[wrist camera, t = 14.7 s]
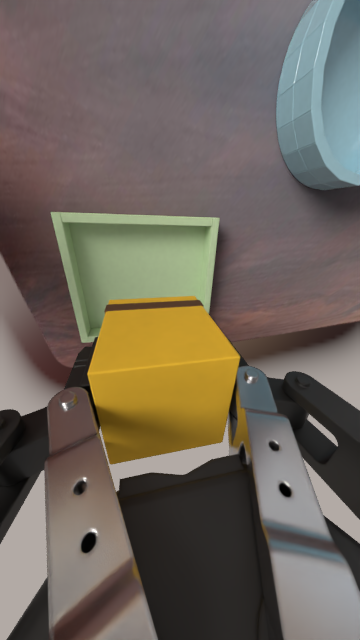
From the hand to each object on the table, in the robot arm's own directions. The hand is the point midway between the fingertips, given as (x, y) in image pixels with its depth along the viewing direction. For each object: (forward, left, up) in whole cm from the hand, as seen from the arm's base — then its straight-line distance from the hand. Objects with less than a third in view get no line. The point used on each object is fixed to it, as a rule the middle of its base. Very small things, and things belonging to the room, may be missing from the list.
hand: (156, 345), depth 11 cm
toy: (0, 0, -1) cm, 1 cm away
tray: (0, 0, -14) cm, 14 cm away
